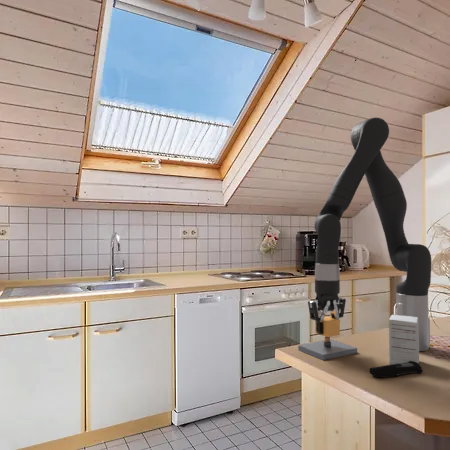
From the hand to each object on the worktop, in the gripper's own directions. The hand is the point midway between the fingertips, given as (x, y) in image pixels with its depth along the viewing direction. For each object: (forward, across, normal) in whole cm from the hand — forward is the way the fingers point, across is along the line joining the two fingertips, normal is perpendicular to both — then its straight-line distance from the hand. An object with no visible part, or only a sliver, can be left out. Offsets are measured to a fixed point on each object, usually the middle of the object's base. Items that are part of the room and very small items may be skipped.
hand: (327, 332), depth 118 cm
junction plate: (+6, 0, 0) cm, 6 cm away
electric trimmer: (+6, -2, +23) cm, 24 cm away
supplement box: (+6, -12, +18) cm, 23 cm away
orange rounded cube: (0, 0, 0) cm, 0 cm away
